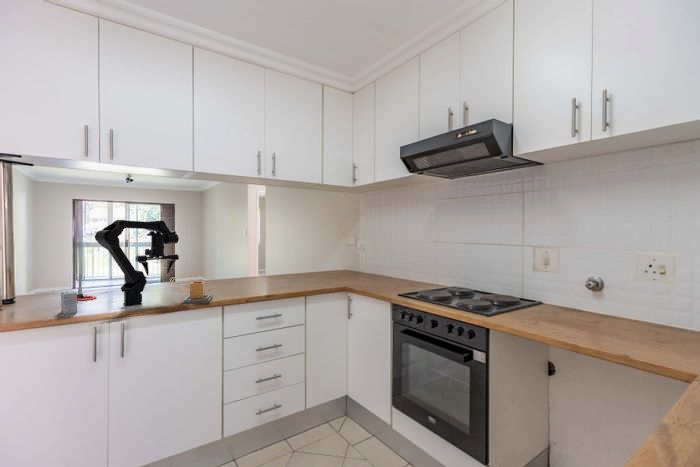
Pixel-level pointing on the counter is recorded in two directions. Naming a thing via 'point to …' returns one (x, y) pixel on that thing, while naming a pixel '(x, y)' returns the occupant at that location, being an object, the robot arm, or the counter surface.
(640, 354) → the counter surface
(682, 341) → the counter surface
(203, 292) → the orange wooden block
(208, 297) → the post plate
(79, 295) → the tow hook
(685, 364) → the counter surface
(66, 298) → the medicine box
